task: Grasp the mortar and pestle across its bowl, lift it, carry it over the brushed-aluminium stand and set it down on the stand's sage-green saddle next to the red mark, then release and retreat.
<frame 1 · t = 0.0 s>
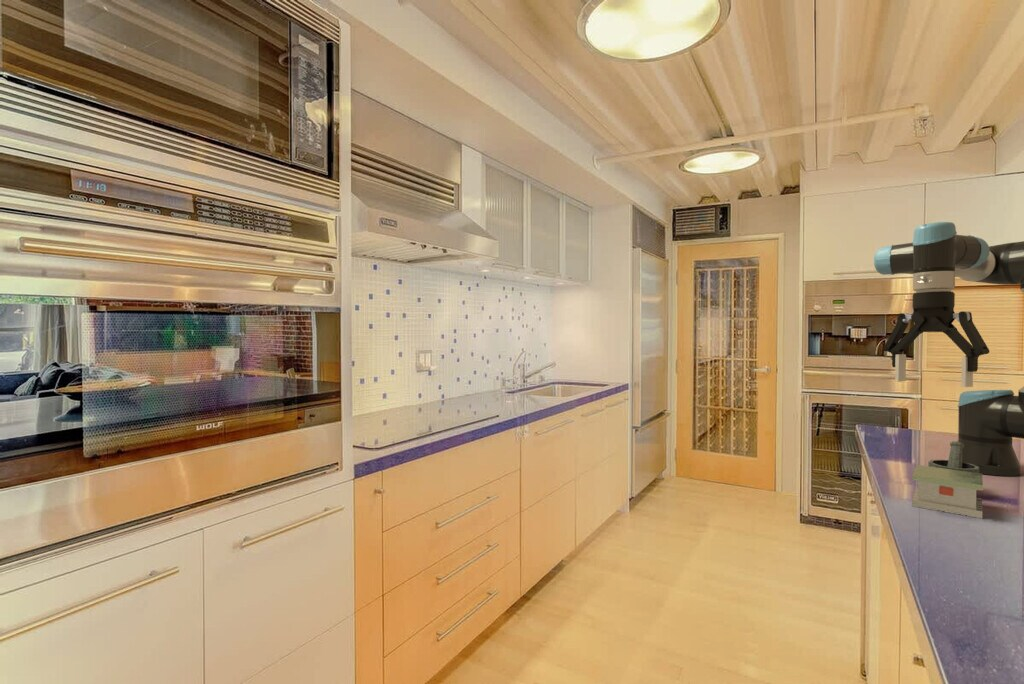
hand: (931, 384, 120), 28 cm above the worktop, fingers open, 13 cm apart
mortar and pestle: (953, 491, 131), on the worktop
stand: (946, 505, 120), on the worktop
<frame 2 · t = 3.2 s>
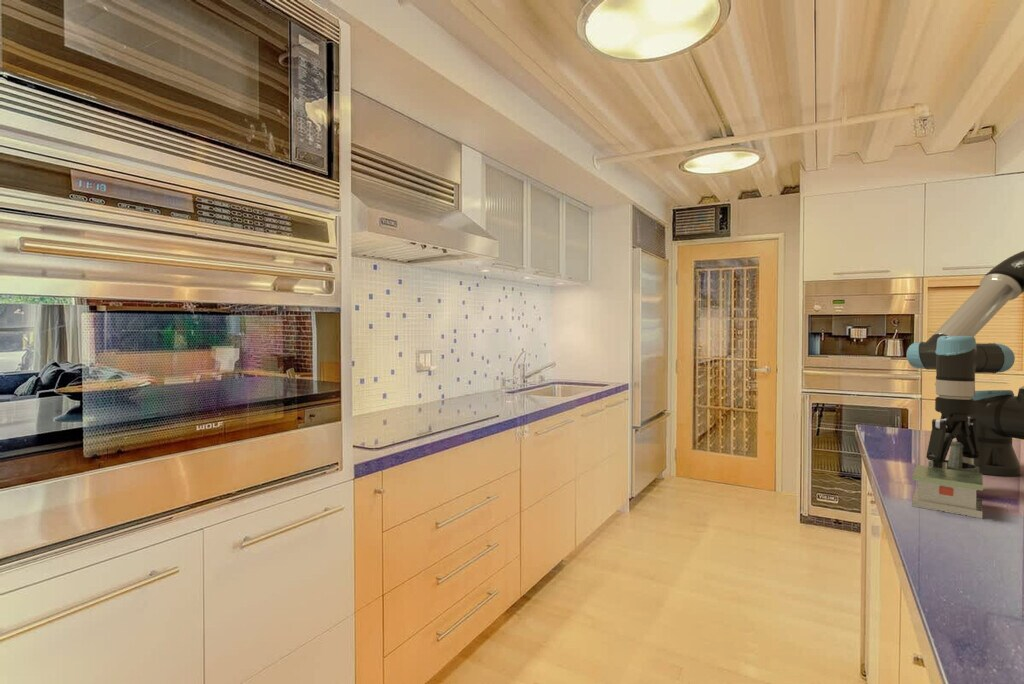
hand: (953, 485, 131), 1 cm above the worktop, fingers closed on mortar and pestle, 10 cm apart
mortar and pestle: (953, 491, 131), on the worktop, touching gripper
when the fingers open (10 cm above the worktop, at t = 8.9 s): mortar and pestle drops 1 cm, resting on stand.
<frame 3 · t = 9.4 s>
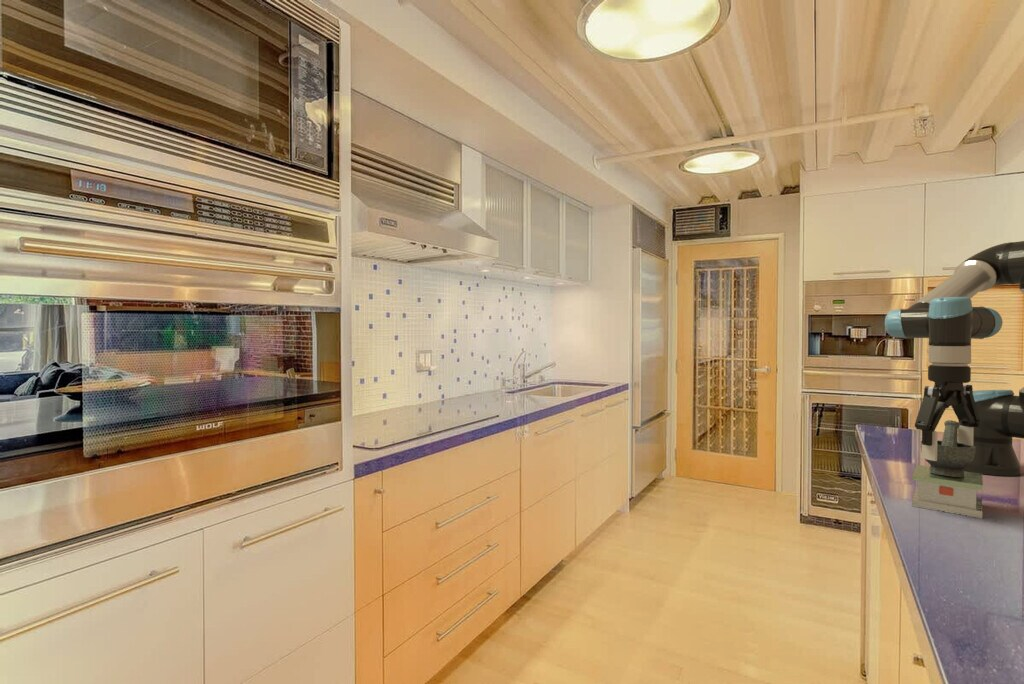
hand: (947, 457, 120), 11 cm above the worktop, fingers open, 13 cm apart
mortar and pestle: (947, 474, 120), point 7 cm above the worktop, touching stand
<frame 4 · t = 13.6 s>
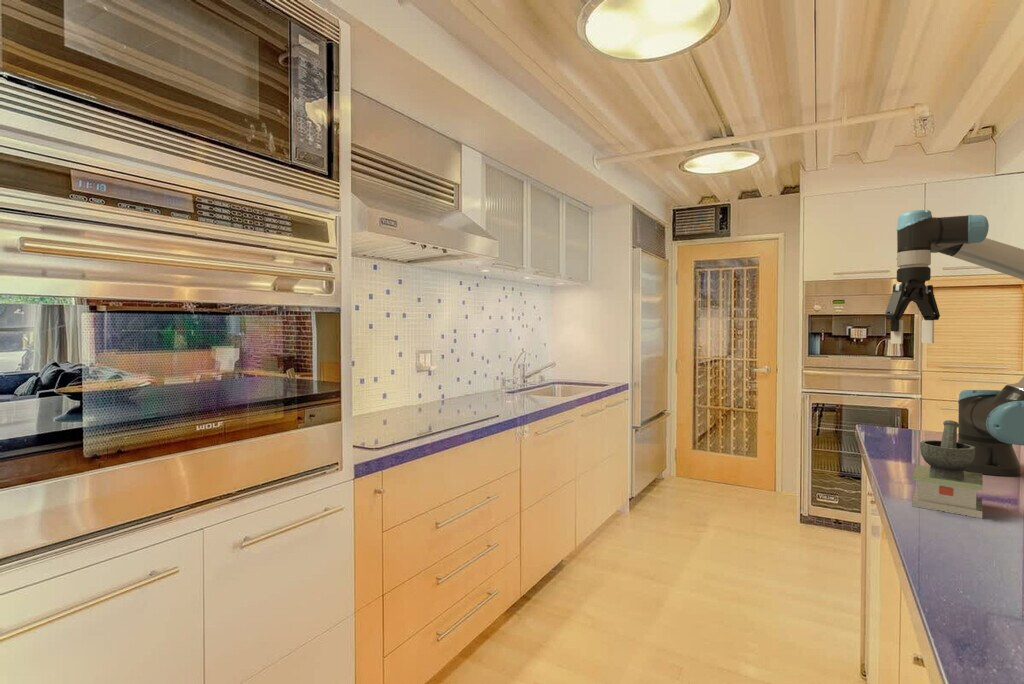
hand: (912, 343, 146), 37 cm above the worktop, fingers open, 13 cm apart
nothing on the worktop moved.
at the end: mortar and pestle inside the target area on the stand (0.4 cm from its centre), point 7.0 cm above the stand's base; mortar and pestle tilted 0°; the gripper is holding nothing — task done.
